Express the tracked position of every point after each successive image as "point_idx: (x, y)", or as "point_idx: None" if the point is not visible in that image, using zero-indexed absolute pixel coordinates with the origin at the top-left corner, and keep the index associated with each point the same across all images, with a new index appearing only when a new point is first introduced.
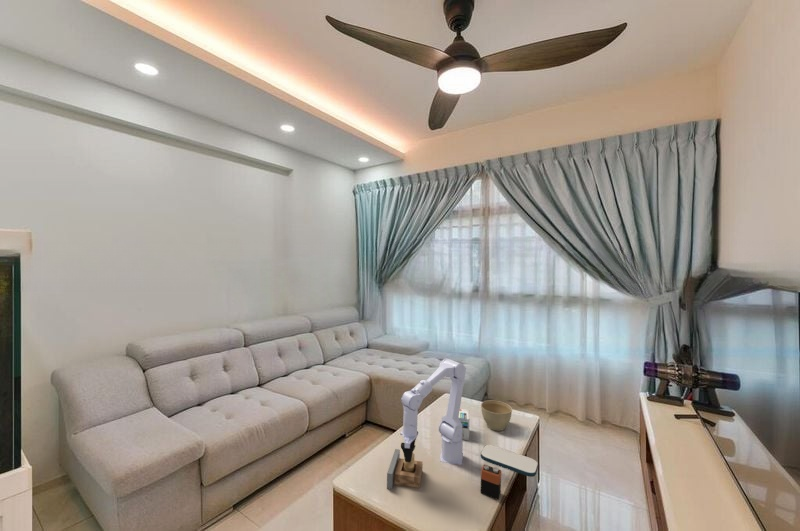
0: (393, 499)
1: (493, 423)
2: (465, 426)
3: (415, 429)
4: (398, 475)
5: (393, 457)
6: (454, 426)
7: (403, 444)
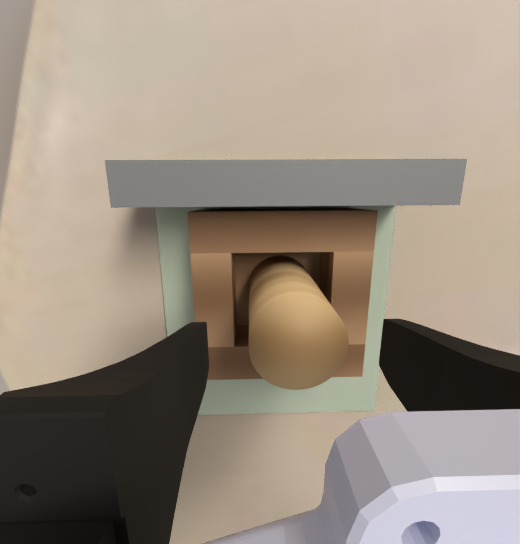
0: (96, 228)
1: None
2: None
3: None
4: (191, 241)
5: (333, 169)
6: None
7: (28, 476)
